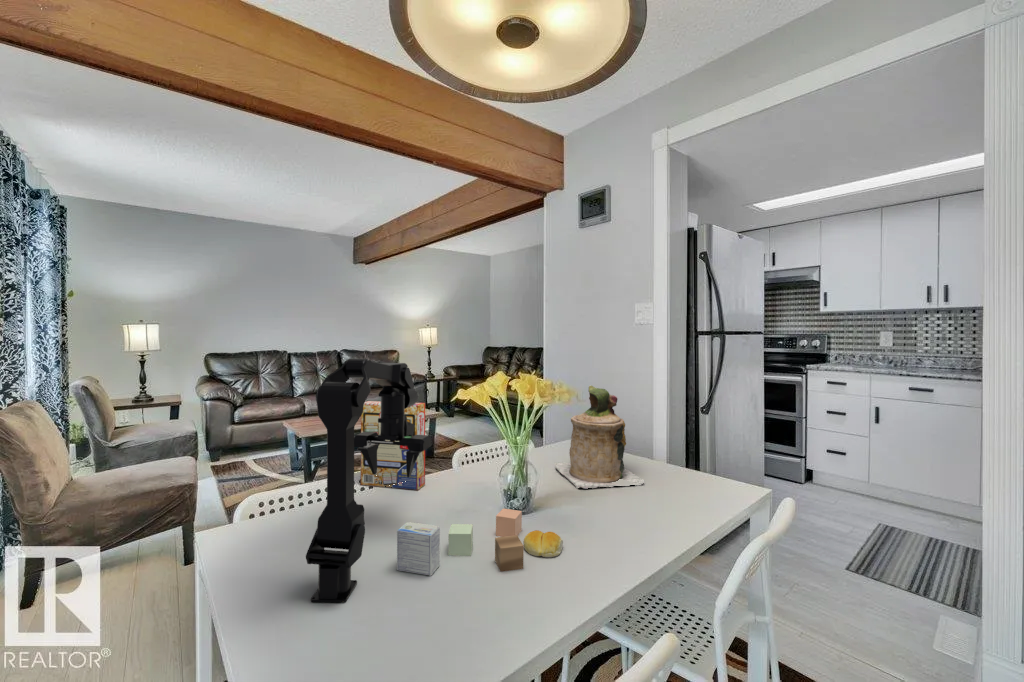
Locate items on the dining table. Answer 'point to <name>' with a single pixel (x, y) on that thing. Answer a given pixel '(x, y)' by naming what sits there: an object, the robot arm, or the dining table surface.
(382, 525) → the dining table surface
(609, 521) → the dining table surface
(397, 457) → the board game box
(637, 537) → the dining table surface
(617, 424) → the cookie jar
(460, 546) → the sage cube
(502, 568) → the walnut cube
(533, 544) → the bread roll
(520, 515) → the terracotta cube
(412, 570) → the medicine box
